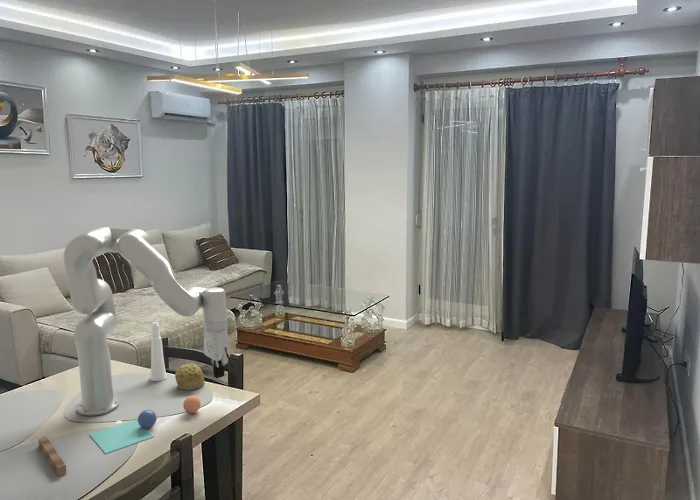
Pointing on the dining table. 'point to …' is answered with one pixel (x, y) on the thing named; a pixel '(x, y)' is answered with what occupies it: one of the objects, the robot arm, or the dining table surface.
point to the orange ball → (192, 404)
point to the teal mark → (120, 436)
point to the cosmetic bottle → (157, 355)
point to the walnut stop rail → (52, 456)
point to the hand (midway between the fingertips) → (219, 376)
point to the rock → (189, 377)
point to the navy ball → (147, 419)
